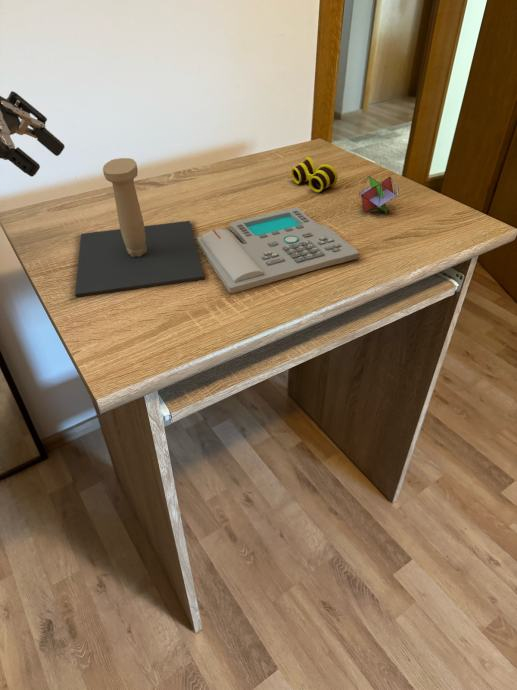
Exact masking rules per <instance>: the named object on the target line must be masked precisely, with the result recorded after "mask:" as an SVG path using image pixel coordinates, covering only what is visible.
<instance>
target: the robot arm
mask: <svg viewBox="0 0 517 690" xmlns="http://www.w3.org/2000/svg"><path fill="white" fill-rule="evenodd" d="M31 115H32V116H33V117H31ZM47 121H48V118H47V117H46V116H45V115H44V114H43V113H41V112H40V111H39V110H38V109H37V108H36V107H34V106H33V105H32V104H31V103H29V102H28V101H27V100H25V99H24V98H23V97H22V96H21V95H19V94H18V93H17V92H15V91H13V90H11V91H10V93H9V95H8V96H7V98H5V97H3V96H1V95H0V159H2V160H3V161H9V162H10V163H12V164H13V165H14V166H15V167H16V168H18V169H19V170H20V171H22V172H23V173H25V174H26V175H28V176H29V177H31V178H32V177H35V176H36V175H37V173H38V171H40V169H41V166H40V164H39V162H37V161H36V160H34V159H33V158H32V157H31V156H30V155H28V154H27V153H26V152H25V151H23V149H21V148H20V147H18V146H17V147H16V145H15V144H14V141H13V139H12V137H11V136H12V135H14V134H16V135H18V136H23V135H27V136H29V137H32V138H34V139H36V141H37V142H38V143H39V144H40V145H42V146H43V147H45V148H46V149H47V150H48V151H49V152H50V153H52V154H53V155H54V156H55V157H58V156H60V155H61V154H62V153H63V151H64V149H65V144H64V143H63V142H62V141H61V140H60V139H58V138H57V136H55V135H54V134H53V133H52V132H51V131H49V130H48V129H47V128H46V123H47Z"/></svg>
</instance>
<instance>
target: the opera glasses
mask: <svg viewBox="0 0 517 690" xmlns="http://www.w3.org/2000/svg"><path fill="white" fill-rule="evenodd" d="M290 175H291V177H292V180H293V182H294V183H295V184H297V185H298V184H301V183H303V182H308V185H309V187H310V189H311V190H312V191H313V192H315V193H320V192H322V191H323V190H325V189H327V188H330V187H333V186H335V184H336V183H337V182H338V179H339V176H338V172H337V170H336V169H335V168H334V166H332V165H330V164H327V163H323V164H320V165H319V166H317V167H316V165H315V163H314V161H313V159H312V158H311V157H310V156H307V157H306V158H305V159H304V161H302V162H299V163H298V164H297V165H296V166H294V167H292V168H291V169H290Z"/></svg>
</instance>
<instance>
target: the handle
mask: <svg viewBox="0 0 517 690" xmlns="http://www.w3.org/2000/svg"><path fill="white" fill-rule="evenodd" d="M102 173H103V176H104V178H105V180H106V181H108V182H110V183H111V185H112V190H113V195H114V200H115V205H116V213H117V219H118V224H119V225H118V226H119V229H121V233H122V237H123V240H124V243H125V245H126V249H127V252H128V254H130V255H131V256H132V257H137V256H138V257H141V256H142V255H143V254H145V253H146V252H147V246H146V245H145V244H146V237H145V228H144V226H145V223H144V217H143V214H142V210H141V206H140V201H139V199H138V198H139V197H138V194H137V190H136V186H135V180H134V179H135V178H137V177H138V164H137V162H136V161H135V160H134V159H133V158H128V157H121V158H119V157H118V158H114V159H111V160H109V161H107V162H106V163H104V164H103V167H102Z"/></svg>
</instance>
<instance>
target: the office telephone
mask: <svg viewBox="0 0 517 690" xmlns="http://www.w3.org/2000/svg"><path fill="white" fill-rule="evenodd" d="M197 245H198V247H199V249H200V251H201V252H202V253H203V255H204V256H205V258H206V259H207V262H208V264H209V265H210V267H211V268H212V269H213V271H214V272H215V274H216V275H217V276H218V278H219V279H220V281H221V282H222V283H223V285H224V287H225V288H226V290H227V291H228V293H229V294H234V293H238V292H243V291H246V290H249V289H253V288H256V287H260V286H264V285H267V284H271V283H275V282H277V281H281V280H284V279H287V278H291V277H296V276H298V275H299V276H300V275H302V274H306V273H309V272H312V271H316V270H319V269H323V268H326V267H330V266H335V265H338V264H339V265H340V264H343V263H347V262H350V261H353V260H354V261H355V260H358V259H359V255H360V252H359V250H358V249H357V248H355V247H354V246H353V245H352V244H350V243H349V242H347V241H346V240H345V239H344V238H342V237H341V236H340V235H338V234H337V232H334V230H332V229H331V228H329V227H328V226H326V225H324V224H319V223H317V222H316V221H315V220H314V219H312V218H311V217H310V216H308V215H307V214H306V213H304V212H303V211H302V210H301V208H300V207H292V208H287V209H283V210H279V211H274V212H270V213H269V212H268V213H265V214H261V215H257V216H253V217H248V218H244V219H240V220H235V221H233V222H230V223H229V230H228V229H224V228H223V229H222V228H221V229H220V228H219V229H212V230H210V231H208V232H206V233H204V234H203V235H199V236H197Z"/></svg>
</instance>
